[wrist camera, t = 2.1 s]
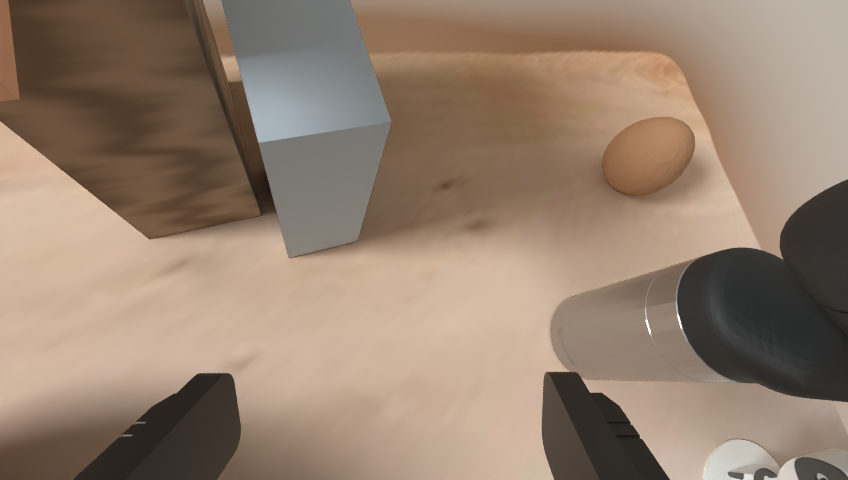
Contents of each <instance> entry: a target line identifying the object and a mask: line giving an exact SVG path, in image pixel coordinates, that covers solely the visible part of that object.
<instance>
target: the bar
mask: <svg viewBox="0 0 848 480" xmlns="http://www.w3.org/2000/svg"><path fill="white" fill-rule="evenodd" d="M17 99H20V98H19V89H18V81H17V72H16V63H15V55H14V46H13V37H12V29H11V20H10V11H9V3H8V0H0V101H8V100H17Z"/></svg>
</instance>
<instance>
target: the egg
mask: <svg viewBox="0 0 848 480" xmlns="http://www.w3.org/2000/svg"><path fill="white" fill-rule="evenodd" d="M694 149H695V137H694V134H693V132H692V130H691V129H690V127H689V126H688V125H687V124H685V123H684V122H683V121H680V120H678V119H675V118H671V117H656V118H651V119H646V120H642V121H639V122H637V123H634V124H632V125H630V126H629V127H627V128H625V129H624V130H623V131H621V132H620V133H619V134H618V135H617V136H615V137H614V138H613V140H612V141H611V142H610V143H609V145H608V147H607V149H606V151H605V153H604V156H603V162H602V167H603V174H604V176H605V179H606V181H607V182H608V183H609V184H610V185H611V186H612V187H613V188H614V189H616V190H618V191H620V192H622V193H625V194H630V195H645V194H649V193H653V192H656V191H658V190H660V189H662V188H664V187H666V186H667V185H669V184H671V183H672V182H673V181H674V180H676V179H677V178H678V177H679V176H680V175H681V174H682V172H683V171H684V169H685V168H686V166H687V165H688V164H689V162H690V160H691V158H692V156H693V152H694Z"/></svg>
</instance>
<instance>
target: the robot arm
mask: <svg viewBox="0 0 848 480" xmlns="http://www.w3.org/2000/svg"><path fill="white" fill-rule="evenodd" d="M780 250H781V254H782V257H783V259H784V260H783V259H781V258H779V257H777V256H775V255H773V254H770V253H767V252H765V251H761V250H758V249H753V248H731V249H726V250H722V251H718V252H715V253H712V254H709V255H705V256H702V257H699V258H696V259H692V260H689V261H686V262H683V263H679V264H676V265H673V266H670V267H667V268H664V269H660V270H657V271H654V272H651V273H647V274H644V275H641V276H638V277H634V278H631V279H628V280H624V281H621V282H618V283H615V284H611V285H608V286H605V287H602V288H598V289H595V290H591V291H588V292H585V293H582V294H579V295H576V296H573V297H570V298H568V299H566V300H565V301H563V302H562V303H561V304H560V305H559V306H558V308H557V310H556V311H555V313H554V316H553V319H552V323H551V338H552V343H553V346H554V349H555V352H556V354H557V356H558V358H559V359H560V360H561V362H562V363H563V364H564V366H565V367H567V368H568V369H569V370H570V371H571V372H546V373H545V376H544V386H543V409H542V438H543V445H544V450H545V454H546V457H547V460H548V463H549V466H550V469H551V472H552V475H553V477H554V480H670V479H669V478H668V476H667V475H666V473H665V472H664V470H663V469H662V468H661V466H660V465H659V463H658V462H657V460H656V459H655V457H654V456H653V454H652V453H651V451H650V450H649V449H648V447H647V446H646V444H645V443H644V441H643V440H642V439H640V435H639V434H638V432H637V431H636V430H635V428H634V427H633V425H631V424H630V421H629V419H628V418H627V416H626V415H625V413H624V412H623V411H622V409H621V408H620V406H619V405H617V404H616V403H615V402H613V401H612V400H611V399H609V398H608V397H607V396H605V395H604V394H603V393H590V392H589V390H588V389H587V387H586V385H585V384H584V382H583V380H582V379H581V377H582V378H585V379H592V380H620V381H669V382H727V383H758V384H760V385H762V386H765V387H767V388H769V389H772V390H774V391H777V392H780V393H783V394H786V395H790V396H796V397H802V398H810V399H821V400H832V401H842V402H848V180H845V181H843V182H841V183H838V184H836V185H834V186H832V187H830V188H828V189H826V190H825V191H823V192H821V193H819V194H818V195H816V196H815V197H813V198H812V199H810V200H809V201H807V202H806V203H804V204H803V205H802V206H801V207H800V208H798V209H797V210H796V211H795V212H794V214H792V215H791V217H790V218H789V219H788V221H787V222H786V223H785V226H784V228H783V230H782V232H781V235H780ZM240 434H241V424H240V417H239V411H238V404H237V397H236V391H235V384H234V379H233V377H232V375H231V374H229V373H200V374H197V375H196V376H194V377H193V378H192V379H191V380H190V381H189V382H188V383H187V384H186V385H185V386H184V387H183V388H182V389H181V390H180V391H179V392H178V393H177V394H173V395H171V396H170V397H168V398H166V399H164V400H163V401H161V402H159V403H158V404H156V405H154V406H152V407H151V408H150V409H149V410H148V411H147V412H146V413H145V414H144V415H143V416H142V417H141V418H139V419H138V420H137V421H136V424H135V425H132V426H131V427H130V428H129V429H128V430H126V431H125V432H124V433H123V434H122V437H121V438H118V439H117V440H116V441H114V442H113V443H112V444H111V445H110V446H109V447H108V448H107V449H106V450H105V451H104V452H103V453H101V454H100V455H99V456H98V457H97V458H96V459H95V460H94V461H93V462H92V463H91V464H89V465H88V466H87V467H86V468H85V469H84V470H83V471H82V472H81V473H80V474H79V475H78V476H76V477H75V478H74V479H73V480H217V479H218V477H219V476H220V474H221V473H222V471H223V470H224V468H225V467H226V465H227V464H228V462H229V460H230V459H231V457H232V456H233V454H234V453H235V451H236V449H237V446H238V443H239V440H240Z"/></svg>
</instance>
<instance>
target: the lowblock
mask: <svg viewBox="0 0 848 480" xmlns="http://www.w3.org/2000/svg"><path fill="white" fill-rule="evenodd" d="M221 1H222V4H223V8H224V12H225V16H226V20H227V24H228V28H229V31H230V35H231V39H232V43H233V47H234V51H235V55H236V59H237V62H238V66H239V70H240V74H241V78H242V82H243V86H244V89H245V93H246V97H247V101H248V105H249V109H250V113H251V117H252V120H253V124H254V128H255V132H256V136H257V140H258V144H259V147H260V151H261V155H262V159H263V163H264V166H265V170H266V174H267V178H268V182H269V185H270V189H271V193H272V197H273V200H274V204H275V208H276V212H277V216H278V219H279V223H280V227H281V231H282V235H283V238H284V242H285V246H286V250H287V254H288V257H289V258H291V257H295V256H299V255H303V254H307V253H311V252H315V251H319V250H324V249H328V248H332V247H336V246H340V245H344V244H348V243H352V242H356V241H358V237H359V234H360V230H361V227H362V223H363V220H364V216H365V213H366V209H367V206H368V202H369V199H370V196H371V192H372V189H373V185H374V182H375V178H376V175H377V171H378V168H379V164H380V161H381V157H382V154H383V150H384V147H385V143H386V140H387V136H388V133H389V129H390V126H391V122H392V121H391V118H390V115H389V113H388V110H387V107H386V104H385V101H384V98H383V95H382V92H381V89H380V86H379V84H378V81H377V78H376V75H375V72H374V69H373V66H372V63H371V60H370V57H369V55H368V52H367V49H366V46H365V43H364V40H363V37H362V34H361V31H360V28H359V26H358V23H357V20H356V17H355V14H354V11H353V8H352V5H351V2H350V0H221Z"/></svg>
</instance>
